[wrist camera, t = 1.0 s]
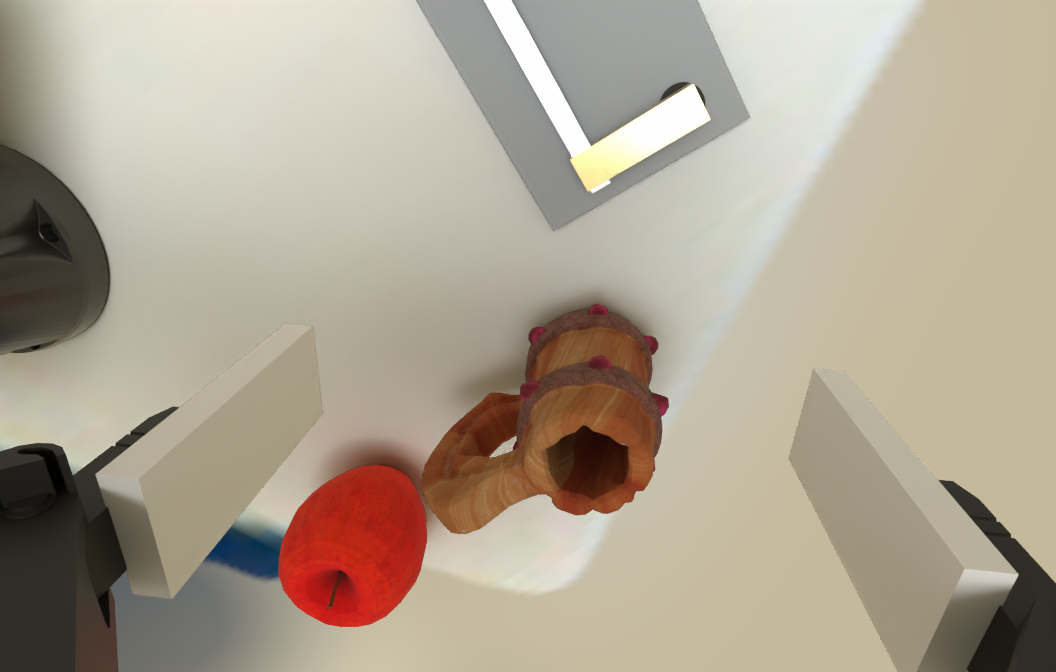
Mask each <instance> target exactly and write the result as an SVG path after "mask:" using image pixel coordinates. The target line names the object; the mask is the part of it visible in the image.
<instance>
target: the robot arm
mask: <svg viewBox="0 0 1056 672" xmlns="http://www.w3.org/2000/svg"><path fill="white" fill-rule="evenodd" d="M107 292H108V268H107V262H106V258H105V254H104V250H103V247H102V244H101V242H100V239H99V237H98V234H97V232H96V230H95V228H94V226H93V224H92V223H91V221H90V219H89V217H88V216H87V214H86V213H85V211H84V210H83V208H82V207H81V205H80V204H79V203H78V201H77V200H76V199H75V198H74V197H73V195H72V194H71V193H70V192H69V191H68V190H67V189H66V188H65V187H64V186H63V185H62V184H61V183H60V182H59V181H58V180H57V179H56V178H55V177H54V176H53V175H52V174H50V173H49V172H48V171H47V170H45V169H44V168H43V167H41V166H40V165H38V164H37V163H35V162H34V161H32V160H31V159H29V158H27V157H25V156H24V155H22V154H20V153H18V152H16V151H14V150H11V149H9V148H6V147H3V146H0V355H4V354H7V353H25V352H34V351H39V350H43V349H47V348H50V347H53V346H56V345H58V344H60V343H62V342H64V341H66V340H68V339H70V338H72V337H74V336H76V335H78V334H80V333H82V332H83V331H85V330H86V329H88V328H89V327H90V326H91V325H92V324H93V323H94V322H95V321H96V319H97V318H98V316H99V315H100V313H101V311H102V309H103V307H104V304H105V301H106V297H107ZM322 414H323V409H322V400H321V392H320V383H319V374H318V365H317V356H316V348H315V339H314V330H313V325H301V324H289V323H285V324H284V325H283V326H282V327H280V328H279V329H278V330H277V331H275V332H274V333H273V334H272V335H270V336H269V337H268V338H266V339H265V340H264V341H263V342H261V343H260V344H259V345H258V346H256V347H255V348H254V349H253V350H251V351H250V352H249V353H248V354H246V355H245V356H244V357H243V358H241V359H240V360H239V361H237V362H236V363H235V364H234V365H232V366H231V367H230V368H229V369H227V370H226V371H225V372H224V373H222V374H221V375H220V376H219V377H217V378H216V379H215V380H214V381H212V382H211V383H210V384H208V385H207V386H206V387H205V388H203V389H202V390H201V391H200V392H198V393H197V394H196V395H195V396H193V397H192V398H191V399H190V400H188V401H187V402H186V403H185V404H183V405H182V406H181V407H171V408H169V409H167V410H165V411H163V412H161V413H158V414H156V415H154V416H152V417H150V418H148V419H147V420H145V421H144V422H143V423H141V424H140V425H139V426H138V427H136V428H135V429H134V430H132V431H131V434H130V435H128V434H127V435H126V436H124V437H123V438H122V439H120V440H119V441H118V442H117V443H116V445H115V446H111V447H110V448H109V449H107V450H106V451H105V452H103V453H102V454H101V455H99V456H98V457H97V458H96V459H94V460H93V461H92V462H90V463H89V464H88V465H86V466H85V467H84V468H82V469H81V470H80V471H78V472H77V473H76V474H75V475H72V472H71V469H70V466H69V463H68V460H67V457H66V454H65V452H64V450H63V448H62V447H60V446H57V445H55V444H50V443H35V444H28V445H22V446H17V447H14V448H11V449H7V450H4V451H1V452H0V672H118V658H117V638H116V619H115V601H114V598H113V595H112V592H111V589H110V587H111V586H112V584H113V583H114V582H115V581H116V580H117V579H118V578H119V577H120V576H121V575H122V574H123V573H124V572H125V571H126V573H127V576H128V579H129V582H130V585H131V589H132V592H133V594H135V595H143V596H151V597H159V598H167V599H173V597H174V596H175V595H176V594H177V592H178V591H179V590H180V589H181V587H182V586H183V585H184V584H185V583H186V581H187V580H188V579H189V578H190V576H191V575H192V574H193V573H194V571H195V570H196V569H197V568H198V566H199V565H200V564H201V563H202V562H203V560H204V559H205V558H206V557H207V555H208V554H209V553H210V552H211V550H212V549H213V548H214V547H215V546H216V544H217V543H218V542H219V541H220V539H221V538H222V537H223V536H224V534H225V533H226V532H227V531H228V529H229V528H230V527H231V526H232V525H233V523H234V522H235V521H236V520H237V518H238V517H239V516H240V515H241V513H242V512H243V511H244V510H245V509H246V507H247V506H248V505H249V504H250V502H251V501H252V500H253V499H254V497H255V496H256V495H257V494H258V492H259V491H260V490H261V489H262V488H263V486H264V485H265V484H266V483H267V481H268V480H269V479H270V478H271V476H272V475H273V474H274V473H275V472H276V470H277V469H278V468H279V467H280V465H281V464H282V463H283V462H284V460H285V459H286V458H287V457H288V456H289V454H290V453H291V452H292V451H293V449H294V448H295V447H296V446H297V444H298V443H299V442H300V441H301V439H302V438H303V437H304V436H305V435H306V433H307V432H308V431H309V430H310V428H311V427H312V426H313V425H314V423H315V422H316V421H317V420H318V419H319V417H320V416H321V415H322ZM789 460H790V462H791V464H792V466H793V468H794V470H795V471H796V474H797V476H798V478H799V480H800V482H801V483H802V485H803V487H804V489H805V491H806V493H807V495H808V497H809V499H810V501H811V503H812V505H813V507H814V509H815V511H816V513H817V515H818V516H819V519H820V520H821V523H822V525H823V527H824V528H825V530H826V532H827V534H828V536H829V538H830V540H831V542H832V544H833V546H834V548H835V550H836V552H837V554H838V556H839V558H840V560H841V562H842V564H843V566H844V568H845V569H846V572H847V573H848V575H849V577H850V579H851V581H852V583H853V585H854V587H855V589H856V591H857V593H858V595H859V597H860V599H861V601H862V603H863V605H864V607H865V609H866V611H867V613H868V615H869V617H870V618H871V620H872V622H873V624H874V626H875V628H876V630H877V632H878V634H879V636H880V638H881V640H882V642H883V644H884V646H885V648H886V650H887V652H888V654H889V656H890V657H891V659H892V661H893V663H894V665H895V667H896V669H897V671H898V672H1056V583H1055V582H1054V581H1053V580H1052V579H1051V578H1050V577H1049V576H1048V574H1047V573H1046V572H1045V571H1044V570H1043V569H1042V568H1041V567H1040V566H1039V564H1038V563H1037V562H1036V561H1035V560H1034V559H1033V558H1032V557H1031V556H1030V555H1029V554H1028V552H1027V551H1026V550H1025V549H1024V548H1023V547H1022V546H1021V545H1020V544H1019V543H1018V541H1017V540H1016V539H1014V538H1011V534H1010V533H1009V532H1008V531H1007V529H1006V528H1005V527H1004V526H1003V525H1002V524H1001V523H1000V522H997V521H996V517H995V516H994V515H993V514H992V513H991V512H990V511H989V510H988V509H987V508H986V507H985V505H984V504H983V503H982V502H981V501H980V500H979V499H978V498H976V497H975V496H974V495H972V494H971V493H969V492H968V491H966V490H965V489H963V488H962V487H960V486H959V485H957V484H956V483H955V482H953V481H944V480H938V479H937V478H936V477H935V476H934V475H933V474H932V472H930V470H929V469H928V468H927V467H926V465H925V464H923V462H922V461H921V460H920V458H919V457H918V456H917V455H916V454H915V453H914V452H913V450H912V449H911V448H910V447H909V446H908V444H907V443H906V442H905V441H904V440H903V439H902V437H901V436H900V435H899V434H898V433H897V432H896V430H895V429H894V428H893V427H892V426H891V424H890V423H889V422H888V421H887V420H886V419H885V417H884V416H883V415H882V414H881V413H880V412H879V410H878V409H877V408H876V407H875V406H874V405H873V403H872V402H871V401H870V400H869V399H868V398H867V397H866V395H865V394H864V393H863V392H862V391H861V389H860V388H859V387H858V386H857V385H856V384H855V382H854V381H853V380H852V379H851V378H850V377H849V376H848V374H847V373H846V372H845V371H840V370H828V369H817V368H814V369H813V372H812V375H811V379H810V382H809V386H808V390H807V393H806V397H805V400H804V404H803V408H802V411H801V415H800V419H799V422H798V426H797V430H796V433H795V437H794V441H793V444H792V448H791V451H790V455H789Z"/></svg>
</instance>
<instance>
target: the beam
mask: <svg viewBox="0 0 1056 672" xmlns="http://www.w3.org/2000/svg"><path fill="white" fill-rule="evenodd" d="M484 1H485V2H486V4H487V6H488V8H489V10H490V11H491V13H492V15H493V17H494V19H495V20H496V22H497V24H498V26H499V27H500V29H501V31H502V33H503V35H504V36H505V38H506V40H507V42H508V44H509V45H510V47H511V49H512V51H513V52H514V54H515V56H516V58H517V60H518V61H519V63H520V65H521V67H522V69H523V70H524V72H525V74H526V76H527V77H528V79H529V81H530V83H531V85H532V86H533V88H534V90H535V92H536V94H537V95H538V97H539V99H540V101H541V103H542V104H543V106H544V108H545V110H546V111H547V113H548V115H549V117H550V119H551V120H552V122H553V124H554V126H555V128H556V129H557V131H558V133H559V135H560V136H561V138H562V140H563V142H564V144H565V145H566V147H567V149H568V151H569V153H570V154H571V158H570V161H571V163H572V164H573V166H574V168H575V170H576V172H577V173H578V175H579V177H580V179H581V180H582V182H583V184H584V186H585V188H586V189H587V191H590V190H591V192H592V194H593V193H595V192H596V191H598V190H600V189H601V188H603V187H605V186H606V185H608V184H610V183H611V182H610V178H612V177H613V176H615V175H617V174H619V173H620V172H622V171H624V170H625V169H627V168H629V167H630V166H632V165H634V164H636V163H637V162H639V161H641V160H642V159H644V158H646V157H647V156H649V155H651V154H653V153H654V152H656V151H658V150H659V149H661V148H663V147H664V146H666V145H668V144H670V143H671V142H673V141H675V140H676V139H678V138H680V137H681V136H683V135H685V134H687V133H688V132H690V131H692V130H693V129H695V128H697V127H699V126H700V125H702V124H704V123H705V122H707V121H709V120H710V117H709V115H708V113H707V111H706V109H705V107H704V105H703V103H702V100H701V98H700V96H699V94H698V92H697V90H696V88H695V86H694V84H687V85H686V86H684V87H683V88H681V89H679V90H678V91H676V92H674V93H673V94H671V95H669V96H668V97H666V98H665V99H663V100H661V101H660V102H658V103H656V104H655V105H653V106H652V107H650V108H648V109H647V110H645V111H643V112H642V113H640V114H639V115H637V116H635V117H634V118H632V119H630V120H629V121H627V122H626V123H624V124H622V125H621V126H619V127H617V128H616V129H614V130H613V131H611V132H609V133H608V134H606V135H604V136H603V137H601V138H599V139H598V140H596V141H595V142H593V143H591V144H590V142H589V140H588V139H587V137H586V135H585V133H584V131H583V129H582V128H581V126H580V124H579V122H578V120H577V118H576V117H575V115H574V113H573V111H572V109H571V107H570V106H569V104H568V102H567V100H566V98H565V96H564V95H563V93H562V91H561V89H560V87H559V85H558V84H557V82H556V80H555V78H554V76H553V74H552V73H551V71H550V69H549V67H548V65H547V63H546V62H545V60H544V58H543V56H542V54H541V52H540V51H539V49H538V47H537V45H536V43H535V41H534V40H533V38H532V36H531V34H530V32H529V30H528V29H527V27H526V25H525V23H524V21H523V19H522V18H521V16H520V14H519V12H518V10H517V8H516V7H515V5H514V3H513V1H512V0H484Z"/></svg>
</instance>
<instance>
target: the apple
mask: <svg viewBox="0 0 1056 672" xmlns="http://www.w3.org/2000/svg"><path fill="white" fill-rule="evenodd" d="M426 543H427V526H426V516H425V510H424V506H423V504H422V502H421V499H420V497H419V495H418V492H417V490H416V488H415V486H414V485H413V483H412V481H411V480H410V478H409V477H407V476H406V475H405V474H404V473H403V472H401V471H399V470H397V469H395V468H393V467H388V466H382V465H370V466H361V467H358V468H355V469H352V470H349V471H347V472H345V473H343V474H341V475H339V476H337V477H335V478H333V479H332V480H330V481H328V482H327V483H325V484H323V485H322V486H321V487H320V488H318V489H317V490H316V491H315V492H313V493H312V494H311V495H310V496H309V497H308V498H307V500H306V501H305V502H304V503H303V504H302V505H301V506H300V507H299V508H298V510H297V511H296V513H295V515H294V517H293V519H292V521H291V523H290V526H289V528H288V530H287V532H286V534H285V536H284V538H283V540H282V545H281V551H280V556H279V577H280V580H281V584H282V587H283V590H284V591H285V593H286V594H287V595H288V597H289V598H290V599H291V600H292V602H293V603H294V604H295V605H296V606H297V607H298V608H299V609H301V610H302V611H304V612H305V613H306V614H308V615H310V616H312V617H314V618H315V619H318V620H319V621H321V622H323V623H325V624H328V625H334V626H339V627H359V626H364V625H369V624H372V623H374V622H376V621H378V620H380V619H382V618H384V617H386V616H387V615H388V614H389V613H390V612H391V611H392V610H393V609H394V608H395V607H396V606H397V605H398V604H399V603H401V601H402V600H403V598H404V597H405V596H406V594H407V593H408V592H409V590H410V589H411V588H412V586H413V585H414V583H415V582H416V580H417V577H418V575H419V572H420V570H421V566H422V561H423V557H424V552H425V548H426Z"/></svg>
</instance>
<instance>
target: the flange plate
mask: <svg viewBox="0 0 1056 672" xmlns="http://www.w3.org/2000/svg"><path fill="white" fill-rule="evenodd" d="M416 1H417V3H418V4H419V6H420V8H421V9H422V11H423V13H424V14H425V16H426V18H427V19H428V21H429V23H430V25H431V26H432V28H433V30H434V31H435V33H436V35H437V36H438V38H439V40H440V41H441V43H442V45H443V46H444V48H445V50H446V51H447V53H448V55H449V56H450V58H451V60H452V62H453V63H454V65H455V67H456V68H457V70H458V72H459V73H460V75H461V77H462V78H463V80H464V82H465V83H466V85H467V87H468V88H469V90H470V92H471V94H472V95H473V97H474V99H475V100H476V102H477V104H478V105H479V107H480V109H481V110H482V112H483V114H484V115H485V117H486V119H487V120H488V122H489V124H490V125H491V127H492V129H493V131H494V132H495V134H496V136H497V137H498V139H499V141H500V142H501V144H502V146H503V147H504V149H505V151H506V152H507V154H508V156H509V157H510V159H511V161H512V163H513V164H514V166H515V168H516V169H517V171H518V173H519V174H520V176H521V178H522V179H523V181H524V183H525V184H526V186H527V188H528V189H529V191H530V193H531V194H532V196H533V198H534V200H535V201H536V203H537V205H538V206H539V208H540V210H541V211H542V213H543V215H544V216H545V218H546V220H547V221H548V223H549V225H550V226H551V228H552V230H553V231H554V230H556V229H558V228H560V227H561V226H563V225H565V224H567V223H568V222H570V221H572V220H573V219H575V218H577V217H579V216H580V215H582V214H584V213H586V212H587V211H589V210H591V209H593V208H594V207H596V206H598V205H600V204H601V203H603V202H605V201H606V200H608V199H610V198H612V197H613V196H615V195H617V194H619V193H620V192H622V191H624V190H626V189H627V188H629V187H631V186H632V185H634V184H636V183H638V182H639V181H641V180H643V179H645V178H646V177H648V176H650V175H652V174H653V173H655V172H657V171H659V170H660V169H662V168H664V167H665V166H667V165H669V164H671V163H672V162H674V161H676V160H678V159H679V158H681V157H683V156H685V155H686V154H688V153H690V152H692V151H693V150H695V149H697V148H698V147H700V146H702V145H704V144H705V143H707V142H709V141H711V140H712V139H714V138H716V137H718V136H719V135H721V134H723V133H724V132H726V131H728V130H730V129H731V128H733V127H735V126H737V125H738V124H740V123H742V122H744V121H745V120H747V119H749V118H750V116H749V114H748V111H747V109H746V107H745V105H744V103H743V100H742V98H741V96H740V94H739V92H738V89H737V87H736V85H735V83H734V80H733V78H732V76H731V74H730V72H729V69H728V67H727V65H726V63H725V60H724V58H723V56H722V54H721V52H720V49H719V47H718V45H717V43H716V40H715V38H714V36H713V34H712V32H711V29H710V27H709V25H708V23H707V21H706V18H705V16H704V14H703V12H702V9H701V7H700V5H699V3H698V1H697V0H512V1H513V3H514V5H515V7H516V8H517V10H518V12H519V14H520V16H521V18H522V19H523V21H524V23H525V25H526V27H527V29H528V30H529V32H530V34H531V36H532V38H533V40H534V41H535V43H536V45H537V47H538V49H539V51H540V52H541V54H542V56H543V58H544V60H545V62H546V63H547V65H548V67H549V69H550V71H551V73H552V74H553V76H554V78H555V80H556V82H557V84H558V85H559V87H560V89H561V91H562V93H563V95H564V96H565V98H566V100H567V102H568V104H569V106H570V107H571V109H572V111H573V113H574V115H575V117H576V118H577V120H578V122H579V124H580V126H581V128H582V129H583V131H584V133H585V135H586V137H587V139H588V140H589V142H590V144H591V143H593V142H595V141H596V140H598V139H599V138H601V137H603V136H604V135H606V134H608V133H609V132H611V131H613V130H614V129H616V128H617V127H619V126H621V125H622V124H624V123H626V122H627V121H629V120H630V119H632V118H634V117H635V116H637V115H639V114H640V113H642V112H643V111H645V110H647V109H648V108H650V107H652V106H653V105H655V104H656V103H658V102H660V101H661V100H663V99H665V98H666V97H668V96H669V95H671V94H673V93H674V92H676V91H678V90H679V89H681V88H683V87H684V86H686V85H687V84H694V86H695V88H696V90H697V92H698V94H699V96H700V98H701V100H702V103H703V105H704V107H705V109H706V111H707V113H708V115H709V117H710V120H709V121H707V122H705V123H704V124H702V125H700V126H699V127H697V128H695V129H693V130H692V131H690V132H688V133H687V134H685V135H683V136H681V137H680V138H678V139H676V140H675V141H673V142H671V143H670V144H668V145H666V146H664V147H663V148H661V149H659V150H658V151H656V152H654V153H653V154H651V155H649V156H647V157H646V158H644V159H642V160H641V161H639V162H637V163H636V164H634V165H632V166H630V167H629V168H627V169H625V170H624V171H622V172H620V173H619V174H617V175H615V176H613V177H612V178H610V182H611V183H610V184H608V185H606V186H605V187H603V188H601V189H600V190H598V191H596V192H595V193H593V194H592V192H591V190H590V191H587V189H586V188H585V186H584V184H583V182H582V180H581V179H580V177H579V175H578V173H577V172H576V170H575V168H574V166H573V164H572V163H571V161H570V158H571V154H570V153H569V151H568V149H567V147H566V145H565V144H564V142H563V140H562V138H561V136H560V135H559V133H558V131H557V129H556V128H555V126H554V124H553V122H552V120H551V119H550V117H549V115H548V113H547V111H546V110H545V108H544V106H543V104H542V103H541V101H540V99H539V97H538V95H537V94H536V92H535V90H534V88H533V86H532V85H531V83H530V81H529V79H528V77H527V76H526V74H525V72H524V70H523V69H522V67H521V65H520V63H519V61H518V60H517V58H516V56H515V54H514V52H513V51H512V49H511V47H510V45H509V44H508V42H507V40H506V38H505V36H504V35H503V33H502V31H501V29H500V27H499V26H498V24H497V22H496V20H495V19H494V17H493V15H492V13H491V11H490V10H489V8H488V6H487V4H486V2H485V1H484V0H416Z"/></svg>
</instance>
